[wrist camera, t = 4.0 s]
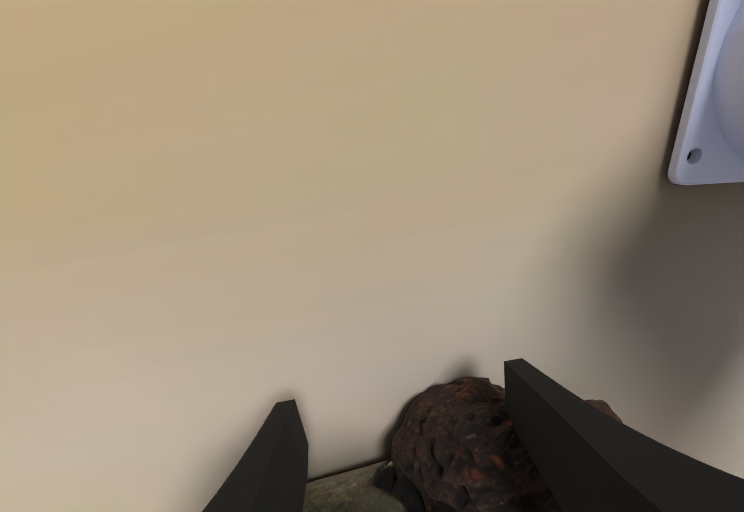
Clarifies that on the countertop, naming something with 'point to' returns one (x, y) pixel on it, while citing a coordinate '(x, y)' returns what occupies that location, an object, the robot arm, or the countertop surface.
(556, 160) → the countertop surface
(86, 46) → the countertop surface
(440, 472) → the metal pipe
